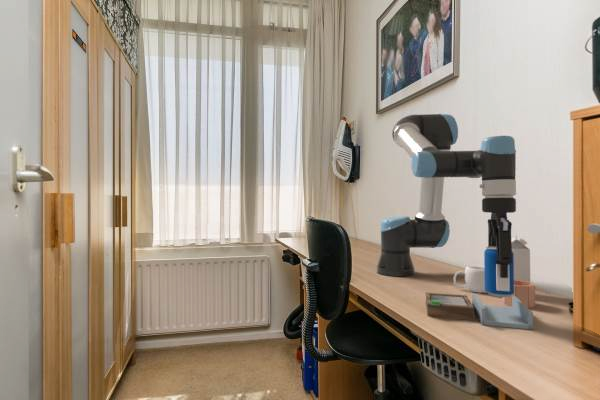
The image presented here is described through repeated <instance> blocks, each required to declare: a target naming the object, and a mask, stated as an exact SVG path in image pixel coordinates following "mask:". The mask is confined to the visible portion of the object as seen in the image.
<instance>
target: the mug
mask: <svg viewBox="0 0 600 400" xmlns="http://www.w3.org/2000/svg"><path fill="white" fill-rule="evenodd" d="M459 274H464V281H465V284H463V285H461V284H458V283H457V276H458V275H459ZM453 284H454V285H455V286H456V287H457V288H460V289H462V288H466V287H467V289H468V291H470V292H472V293H475V294H476V293H477V294H478V293H479V294H488V292H486V291H485V267H484V265H469V266H468V265H467V266H466V267H465V270H458V271H457V272H455V274H454V275H453Z"/></svg>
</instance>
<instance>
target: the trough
mask: <svg viewBox="0 0 600 400" xmlns="http://www.w3.org/2000/svg"><path fill="white" fill-rule="evenodd" d="M471 299H472V300H471V304H472V305H473V307H474V314H475V316H476V317H477V318H478V321H479V322H480V324H481V326H491V327H502V328H510V329H511V328H512V329H520V330H521V329H522V330H532V331H533V330H534V313H533V311H532V310H531V309H530V308H527V307H526V306H525V305H524V304H523V303H522V302H521V301H520V300H519V299H518V298H517V297H516V296H512V306H501V305H489V304H483V303H482V301H481V300H480V299H479V297H478V295H477V294H476V292H472V293H471Z"/></svg>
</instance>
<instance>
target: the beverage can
mask: <svg viewBox="0 0 600 400" xmlns="http://www.w3.org/2000/svg"><path fill="white" fill-rule="evenodd" d="M485 248H486V249H485V250H484V253H483V256H484V257H483V258H484V260H483V261H484V265H483V266H484V267H485V291H486V292H488V293H487V294H488V295H489V296H492V297H497V298H502V297H510V296H511V295H513V294H514V254H513V252H512V263H510V265H509V269H510V291H498V290H497V286H496V264H494V262H495V261H497V249H496V246H489V247H488V246H486V247H485Z"/></svg>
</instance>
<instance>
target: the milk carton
mask: <svg viewBox="0 0 600 400" xmlns="http://www.w3.org/2000/svg"><path fill="white" fill-rule="evenodd" d="M517 238H518V236H517V235H516V234H515V233H512V237H511V244H512V252H513V254H514V280H520V281H526V282H531V249H530V248H529V247H528V246H526V245H527V244H528V241H526V240H525V239H523V238H520V239H519V240H518V239H517Z"/></svg>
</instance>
